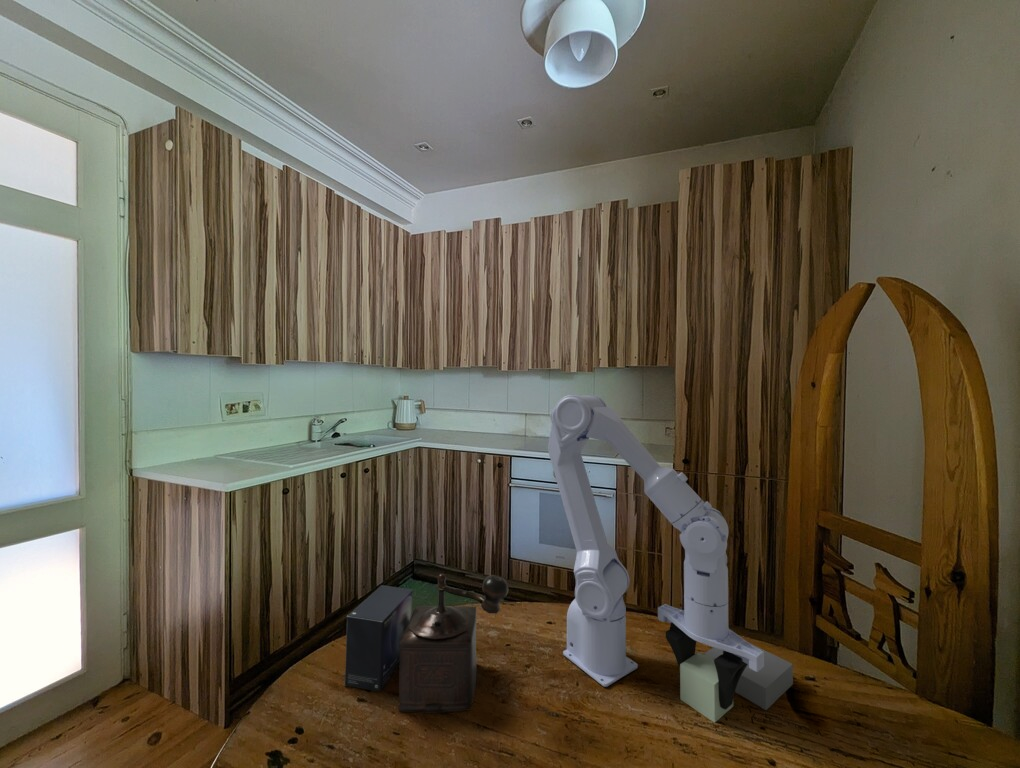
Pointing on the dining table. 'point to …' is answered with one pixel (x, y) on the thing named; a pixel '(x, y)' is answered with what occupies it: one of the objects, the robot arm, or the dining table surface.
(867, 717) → the dining table surface
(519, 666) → the dining table surface
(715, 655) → the gray plinth
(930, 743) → the dining table surface
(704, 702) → the green cube
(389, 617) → the small box
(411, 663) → the manual coffee grinder
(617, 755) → the dining table surface
